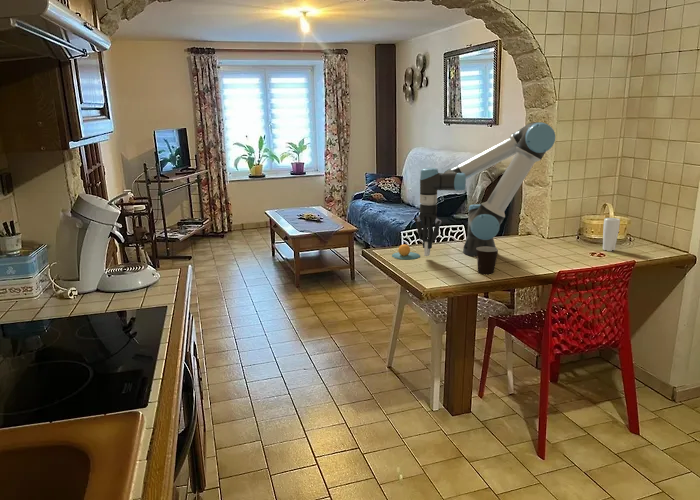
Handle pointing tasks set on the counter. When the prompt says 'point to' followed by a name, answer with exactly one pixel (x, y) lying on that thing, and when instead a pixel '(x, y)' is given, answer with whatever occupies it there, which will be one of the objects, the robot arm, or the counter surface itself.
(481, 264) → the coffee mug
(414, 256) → the disc
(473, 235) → the robot arm
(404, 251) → the ball
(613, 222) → the white tall block
